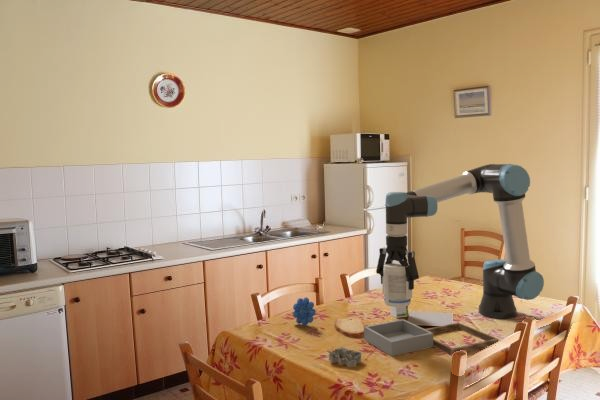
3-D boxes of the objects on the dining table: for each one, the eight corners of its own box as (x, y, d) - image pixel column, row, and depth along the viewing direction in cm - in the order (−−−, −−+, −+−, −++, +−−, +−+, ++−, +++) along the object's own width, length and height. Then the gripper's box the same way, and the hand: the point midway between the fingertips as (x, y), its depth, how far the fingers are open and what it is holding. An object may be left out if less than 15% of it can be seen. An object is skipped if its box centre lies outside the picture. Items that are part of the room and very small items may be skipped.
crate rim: (458, 327, 203) (458, 322, 203) (498, 344, 184) (498, 339, 184) (414, 336, 194) (414, 331, 194) (452, 355, 175) (452, 349, 175)
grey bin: (403, 331, 200) (403, 319, 200) (433, 346, 184) (433, 333, 183) (364, 339, 193) (363, 326, 192) (391, 356, 176) (391, 342, 176)
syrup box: (396, 318, 216) (395, 284, 215) (389, 314, 222) (389, 281, 220) (408, 316, 218) (407, 283, 216) (401, 312, 223) (401, 280, 222)
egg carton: (325, 362, 174) (325, 350, 174) (338, 355, 180) (338, 343, 179) (352, 369, 167) (351, 357, 167) (364, 361, 173) (364, 350, 173)
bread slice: (362, 340, 193) (361, 330, 193) (321, 332, 203) (321, 323, 203) (382, 326, 208) (382, 317, 207) (344, 319, 218) (343, 311, 218)
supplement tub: (416, 304, 185) (416, 264, 184) (397, 309, 180) (396, 268, 179) (397, 298, 194) (396, 260, 192) (378, 303, 188) (377, 264, 187)
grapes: (322, 325, 210) (321, 296, 209) (312, 329, 205) (311, 300, 204) (300, 320, 218) (299, 292, 217) (289, 324, 212) (288, 296, 211)
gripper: (365, 233, 190) (366, 292, 192) (417, 239, 174) (417, 303, 176) (377, 230, 195) (378, 288, 197) (429, 236, 179) (429, 298, 181)
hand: (397, 295), depth 187 cm, fingers closed on supplement tub, 10 cm apart
